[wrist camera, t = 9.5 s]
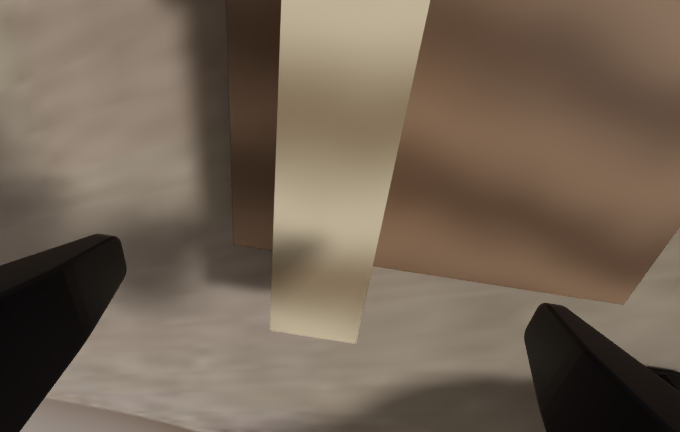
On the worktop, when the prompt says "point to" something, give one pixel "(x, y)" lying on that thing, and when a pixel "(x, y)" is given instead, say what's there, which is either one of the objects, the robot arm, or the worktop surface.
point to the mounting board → (503, 142)
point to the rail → (336, 154)
